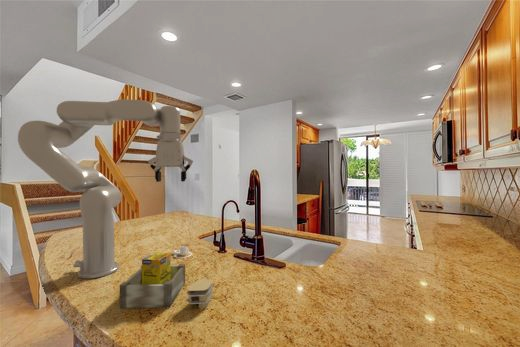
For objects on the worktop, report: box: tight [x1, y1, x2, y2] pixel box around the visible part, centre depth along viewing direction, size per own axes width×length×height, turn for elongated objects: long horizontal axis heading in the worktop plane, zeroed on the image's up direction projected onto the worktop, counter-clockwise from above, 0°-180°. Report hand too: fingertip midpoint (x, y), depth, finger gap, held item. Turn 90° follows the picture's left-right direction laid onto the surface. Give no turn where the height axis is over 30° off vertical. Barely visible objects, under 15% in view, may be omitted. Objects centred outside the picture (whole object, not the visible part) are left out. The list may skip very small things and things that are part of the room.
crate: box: [119, 263, 186, 309], centre depth 69 cm, size 14×14×6 cm
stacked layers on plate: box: [186, 278, 214, 310], centre depth 64 cm, size 10×9×6 cm
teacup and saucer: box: [172, 245, 194, 259], centre depth 102 cm, size 9×8×4 cm
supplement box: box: [141, 251, 171, 285], centre depth 69 cm, size 6×6×11 cm
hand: (170, 181), depth 90 cm, fingers open, 9 cm apart
